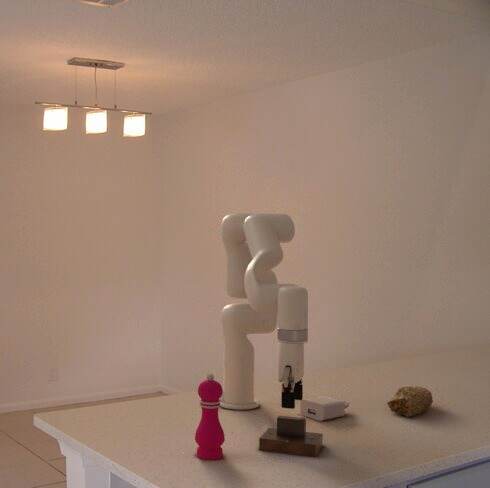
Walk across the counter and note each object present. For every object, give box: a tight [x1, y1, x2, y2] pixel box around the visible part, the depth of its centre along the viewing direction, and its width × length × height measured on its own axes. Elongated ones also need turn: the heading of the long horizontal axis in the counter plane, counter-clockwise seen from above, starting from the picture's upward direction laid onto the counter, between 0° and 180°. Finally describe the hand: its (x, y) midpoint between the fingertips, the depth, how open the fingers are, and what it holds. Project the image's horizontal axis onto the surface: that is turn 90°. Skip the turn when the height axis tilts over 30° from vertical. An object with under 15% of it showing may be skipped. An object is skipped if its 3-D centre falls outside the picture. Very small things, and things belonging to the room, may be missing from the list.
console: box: [258, 427, 324, 458], centre depth 182 cm, size 14×11×3 cm
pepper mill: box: [194, 373, 226, 461], centre depth 176 cm, size 7×7×20 cm
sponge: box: [386, 386, 434, 417], centre depth 220 cm, size 13×8×20 cm
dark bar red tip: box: [276, 415, 307, 438], centre depth 182 cm, size 7×2×5 cm, turn 68°
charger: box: [299, 395, 350, 422], centre depth 214 cm, size 5×9×15 cm
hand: (292, 403), depth 182 cm, fingers open, 9 cm apart
